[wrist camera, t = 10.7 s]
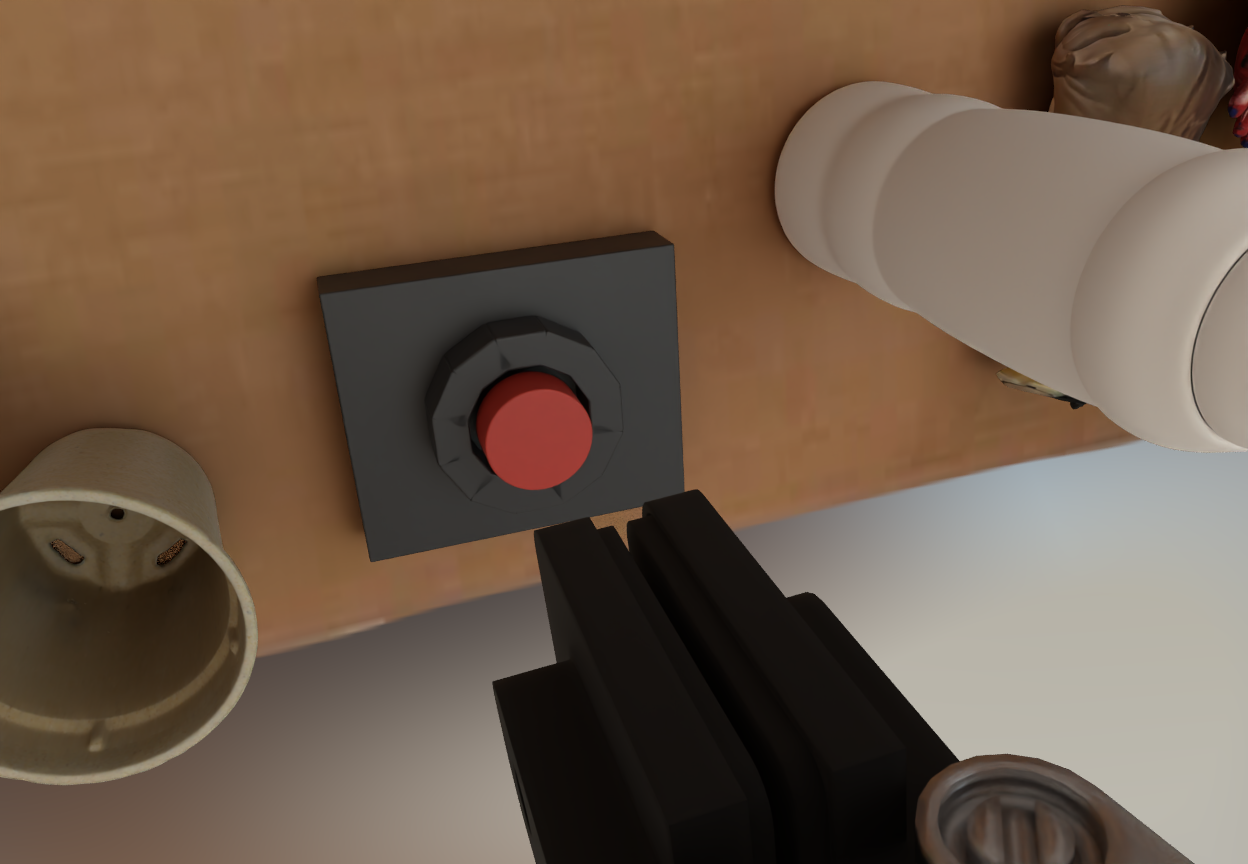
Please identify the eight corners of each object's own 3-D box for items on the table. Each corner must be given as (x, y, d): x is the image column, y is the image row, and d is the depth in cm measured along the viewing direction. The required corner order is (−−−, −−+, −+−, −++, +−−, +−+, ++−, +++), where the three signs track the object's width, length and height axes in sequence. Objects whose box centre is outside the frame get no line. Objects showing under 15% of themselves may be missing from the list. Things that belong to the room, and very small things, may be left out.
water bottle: (770, 83, 37) (1490, 241, 15) (943, 73, 39) (1808, 202, 17) (763, 276, 40) (1359, 644, 18) (925, 259, 42) (1643, 572, 20)
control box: (365, 534, 39) (374, 589, 36) (316, 276, 35) (321, 310, 31) (666, 474, 42) (702, 519, 38) (654, 230, 38) (692, 256, 34)
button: (482, 477, 36) (491, 500, 34) (469, 380, 34) (478, 399, 33) (583, 458, 37) (596, 479, 35) (575, 362, 35) (588, 380, 33)
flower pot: (-83, 578, 35) (-181, 745, 27) (17, 332, 33) (-61, 439, 25) (200, 651, 39) (182, 814, 31) (303, 437, 37) (311, 556, 29)
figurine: (1169, 12, 40) (1305, 17, 35) (1070, 386, 46) (1174, 439, 41) (1008, -6, 38) (1127, -3, 33) (925, 389, 44) (1015, 446, 39)
